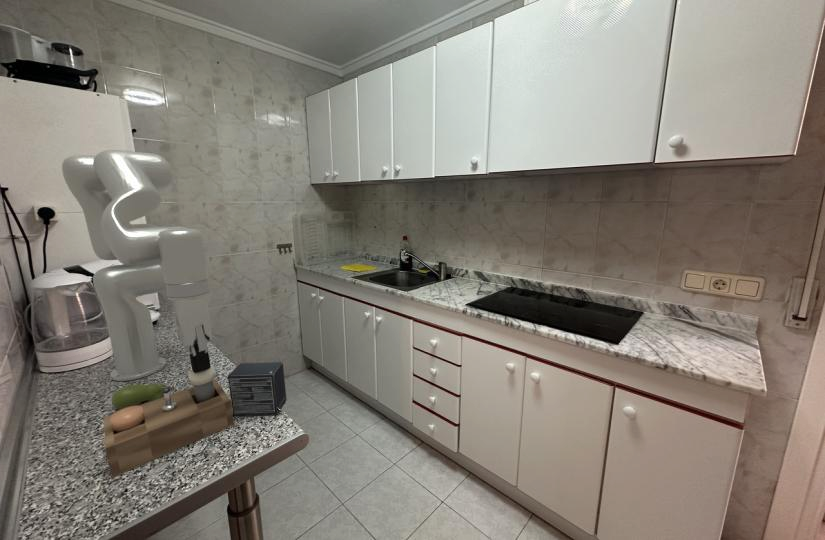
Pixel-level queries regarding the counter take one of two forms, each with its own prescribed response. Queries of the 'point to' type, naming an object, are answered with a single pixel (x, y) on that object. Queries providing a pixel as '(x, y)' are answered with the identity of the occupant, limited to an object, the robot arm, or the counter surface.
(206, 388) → the knob cream
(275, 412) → the small box
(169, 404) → the pot stem
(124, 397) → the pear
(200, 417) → the wooden condiment caddy
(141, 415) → the knob terracotta
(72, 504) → the counter surface
